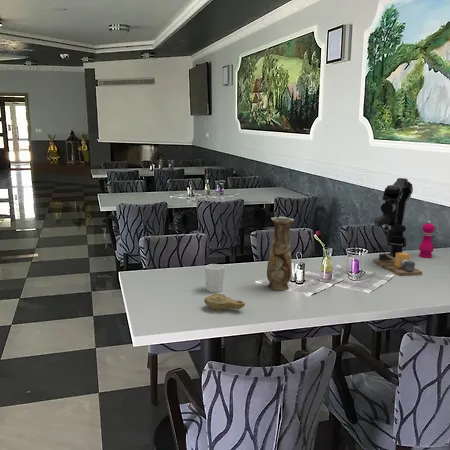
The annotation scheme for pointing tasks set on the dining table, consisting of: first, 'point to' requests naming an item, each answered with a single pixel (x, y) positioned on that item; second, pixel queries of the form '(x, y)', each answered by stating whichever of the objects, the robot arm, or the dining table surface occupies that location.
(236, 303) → the oil lamp
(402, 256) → the sleeve
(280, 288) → the vase
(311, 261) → the dining table surface
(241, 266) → the dining table surface
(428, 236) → the pepper mill
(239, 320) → the dining table surface
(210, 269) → the white cup
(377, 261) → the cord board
